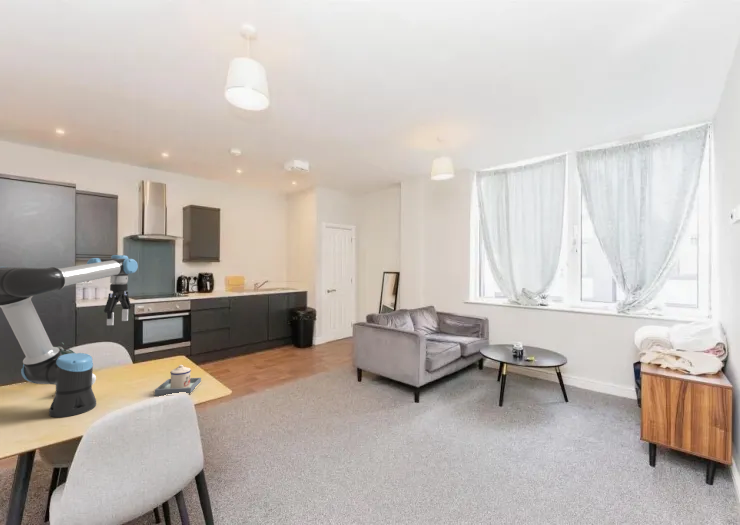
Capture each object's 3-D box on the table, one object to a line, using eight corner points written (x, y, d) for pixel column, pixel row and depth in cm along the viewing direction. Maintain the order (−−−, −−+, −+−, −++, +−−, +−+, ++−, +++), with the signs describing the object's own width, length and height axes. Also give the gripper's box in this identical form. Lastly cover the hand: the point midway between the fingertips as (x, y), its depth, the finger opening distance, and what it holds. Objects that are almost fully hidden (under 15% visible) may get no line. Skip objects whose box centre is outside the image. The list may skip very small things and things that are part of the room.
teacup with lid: (187, 390, 163) (188, 367, 163) (167, 392, 161) (167, 368, 161) (194, 382, 174) (194, 360, 175) (175, 383, 172) (176, 361, 173)
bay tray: (190, 394, 161) (190, 388, 161) (154, 396, 158) (154, 389, 158) (201, 383, 176) (201, 377, 176) (168, 384, 173) (168, 378, 173)
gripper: (113, 284, 165) (111, 326, 164) (138, 282, 189) (137, 319, 189) (96, 284, 163) (94, 327, 163) (124, 282, 188) (123, 319, 188)
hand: (117, 322), depth 176 cm, fingers open, 13 cm apart
